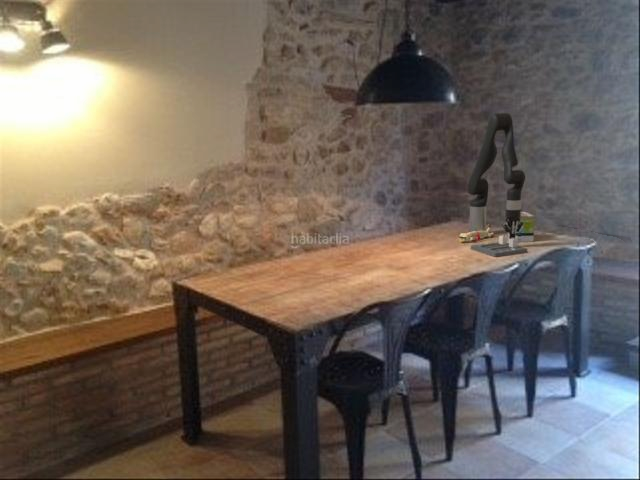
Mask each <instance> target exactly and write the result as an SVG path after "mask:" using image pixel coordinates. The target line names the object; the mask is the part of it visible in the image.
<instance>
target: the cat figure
mask: <svg viewBox="0 0 640 480" xmlns="http://www.w3.org/2000/svg"><path fill="white" fill-rule="evenodd" d="M486 227H487V228H486V231H473V232H470V231H471V230H470V231H469V230H468V231H467V232H464V233H461V232H460V234H459V236H458V238H459V239H458V240H459V242H460V243H464V242H470V243H471V241H473V240H474V239H475V238H476V242H478V241H480V239H481V237H483V238H494V237H495V232H490V230H491V229H492V225H491V223H488V224H486Z"/></svg>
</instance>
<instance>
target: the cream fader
mask: <svg viewBox="0 0 640 480" xmlns="http://www.w3.org/2000/svg"><path fill="white" fill-rule="evenodd" d="M498 242H499V244H507V243H508V235H507V236H506V235H504V234H501V235H499V236H498Z"/></svg>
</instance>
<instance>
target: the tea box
mask: <svg viewBox="0 0 640 480" xmlns="http://www.w3.org/2000/svg"><path fill="white" fill-rule="evenodd" d="M535 218H536V216H535V215H534V214H532V213H529V212H527V211H521V217H520V221H521V222H523V223H524V224H523V226H522V227H521V229H520V230H519V232H516V237H515V239H518V243H531V242H534V240H535V239H534V237H535V235H534V234H535V221H536V219H535ZM507 234H508V235H507V238H509V237H510V234H509V233H508V232H507Z"/></svg>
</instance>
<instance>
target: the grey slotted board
mask: <svg viewBox="0 0 640 480" xmlns="http://www.w3.org/2000/svg"><path fill="white" fill-rule="evenodd" d="M470 250H473V251H476V252H478V253H481V254H485V255H488V256H490V257H493V258H498V257H505V256H513V255H518V254H527V253H528V248H526V247H523V246H520V245H517V247H509V242H507V244H499V241H495V242H487V243H480V244H472V245H470Z"/></svg>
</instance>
